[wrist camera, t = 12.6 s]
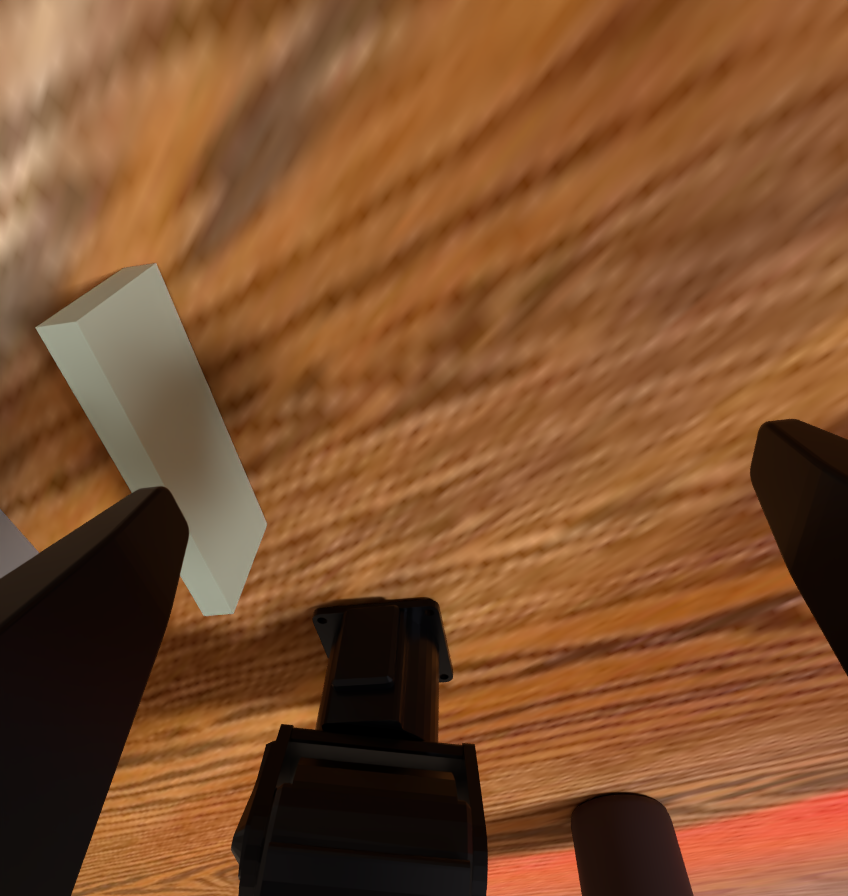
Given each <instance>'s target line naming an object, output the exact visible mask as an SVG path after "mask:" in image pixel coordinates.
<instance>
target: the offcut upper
mask: <svg viewBox="0 0 848 896" xmlns="http://www.w3.org/2000/svg"><path fill="white" fill-rule="evenodd" d="M37 554H39V552H38V551H37V550H36V549H35V548H34V547H33V545H32V544H31V543H30V542H29V541H28V540H27V539H26V538H25V536H24V535H23V534H22V533H21V532H20V531H19V530H18V528H17V527H16V526H15V525H14V524H13V523H12V522H11V521H10V519H9V518H8V517H7V516H6V515H5V514H4V513H3V512H2V510H1V509H0V578H2V577H3V576H5V575H6V574H8V573H9V572H11V571H13V570H14V569H16V568H17V567H19V566H20V565H22V564H23V563H25V562H26V561H28V560H30V559H31V558H33V557H34V556H36V555H37Z"/></svg>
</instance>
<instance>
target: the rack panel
mask: <svg viewBox="0 0 848 896" xmlns="http://www.w3.org/2000/svg"><path fill="white" fill-rule="evenodd" d="M35 328H36V330H37V331H38V333H39V335H40V336H41V338H42V340H43V342H44V343H45V345H46V347H47V348H48V350H49V352H50V354H51V355H52V357H53V359H54V360H55V362H56V364H57V366H58V367H59V369H60V371H61V372H62V374H63V376H64V377H65V379H66V381H67V383H68V384H69V386H70V388H71V389H72V391H73V393H74V395H75V396H76V398H77V400H78V401H79V403H80V405H81V407H82V408H83V410H84V412H85V413H86V415H87V417H88V419H89V420H90V422H91V424H92V425H93V427H94V429H95V430H96V432H97V434H98V436H99V437H100V439H101V441H102V442H103V444H104V446H105V448H106V449H107V451H108V453H109V454H110V456H111V458H112V460H113V461H114V463H115V465H116V466H117V468H118V470H119V471H120V473H121V475H122V477H123V478H124V480H125V482H126V483H127V485H128V487H129V489H130V490H131V492H132V493H133V492H134V491H136V490H138V489H140V488H147V487H156V486H163V487H166V488H168V489H169V490H170V491H171V493H172V495H173V497H174V499H175V500H176V502H177V504H178V506H179V508H180V510H181V512H182V514H183V515H184V517H185V519H186V521H187V523H188V527H189V540H188V544H187V548H186V552H185V556H184V561H183V565H182V569H181V573H180V576H181V577H182V579H183V581H184V583H185V584H186V586H187V588H188V589H189V591H190V593H191V595H192V596H193V598H194V600H195V601H196V603H197V605H198V607H199V608H200V610H201V612H202V613H203V615H204V616H210V615H223V614H234V611H235V608H236V606H237V603H238V600H239V598H240V595H241V592H242V590H243V587H244V584H245V582H246V579H247V577H248V574H249V571H250V569H251V566H252V563H253V561H254V558H255V555H256V553H257V550H258V547H259V545H260V542H261V540H262V537H263V534H264V532H265V529H266V526H267V523H266V520H265V518H264V516H263V513H262V511H261V509H260V506H259V504H258V502H257V499H256V497H255V494H254V492H253V490H252V487H251V485H250V483H249V480H248V478H247V476H246V473H245V471H244V469H243V466H242V464H241V462H240V459H239V457H238V454H237V452H236V450H235V447H234V445H233V443H232V440H231V438H230V436H229V433H228V431H227V429H226V426H225V424H224V422H223V419H222V417H221V415H220V412H219V410H218V407H217V405H216V403H215V400H214V398H213V396H212V393H211V391H210V389H209V386H208V384H207V382H206V379H205V377H204V375H203V372H202V370H201V368H200V365H199V363H198V360H197V358H196V356H195V353H194V351H193V349H192V346H191V344H190V342H189V339H188V337H187V335H186V332H185V330H184V328H183V325H182V323H181V321H180V318H179V316H178V313H177V311H176V309H175V306H174V304H173V302H172V299H171V297H170V295H169V292H168V290H167V288H166V285H165V283H164V281H163V278H162V276H161V274H160V271H159V269H158V266H157V264H156V263H153V264H146V265H140V266H134V267H127V268H123V269H121V270H120V271H118V272H117V273H115V274H114V275H112V276H111V277H109V278H108V279H106V280H105V281H103V282H102V283H100V284H99V285H97V286H96V287H94V288H93V289H91V290H90V291H89V292H87V293H86V294H84V295H83V296H81V297H80V298H78V299H77V300H75V301H74V302H72V303H71V304H69V305H68V306H66V307H65V308H63V309H62V310H60V311H59V312H57V313H56V314H54V315H53V316H52V317H50V318H49V319H47V320H46V321H44V322H43V323H41V324H40V325H38V326H37V327H35Z"/></svg>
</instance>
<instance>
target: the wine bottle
mask: <svg viewBox="0 0 848 896" xmlns="http://www.w3.org/2000/svg"><path fill="white" fill-rule="evenodd" d="M571 830H572V836H573V842H574V848H575V855H576V861H577V867H578V873H579V880H580V886H581V892H582V896H693V892H692V889H691V885H690V882H689V878H688V875H687V872H686V868H685V865H684V861H683V858H682V854H681V851H680V848H679V844H678V841H677V837H676V834H675V830H674V827H673V823H672V820H671V818H670V816H669V814H668V812H667V810H666V808H665V807H664V806H663V805H662V804H661V803H660V802H658V801H656V800H654V799H651V798H648V797H644V796H638V795H629V794H618V795H608V796H603V797H599V798H595V799H593V800H590V801H587V802H585V803H583V804H582V805H580V806H579V807H577V808H576V809H575V810H574V812H573V813H572V817H571Z"/></svg>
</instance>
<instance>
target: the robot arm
mask: <svg viewBox="0 0 848 896" xmlns="http://www.w3.org/2000/svg"><path fill="white" fill-rule="evenodd" d="M750 476H751V482H752V485H753V487H754V490H755V492H756V495H757V497H758V500H759V502H760V504H761V507H762V509H763V512H764V514H765V516H766V519H767V521H768V524H769V526H770V528H771V531H772V533H773V536H774V538H775V540H776V543H777V545H778V548H779V550H780V552H781V555H782V557H783V559H784V562H785V564H786V566H787V568H788V570H789V573H790V575H791V577H792V578H793V580H794V582H795V584H796V586H797V588H798V590H799V591H800V593H801V595H802V597H803V598H804V600H805V602H806V604H807V606H808V607H809V609H810V611H811V613H812V614H813V616H814V618H815V620H816V621H817V623H818V625H819V627H820V628H821V630H822V632H823V634H824V636H825V637H826V639H827V641H828V643H829V644H830V646H831V648H832V650H833V651H834V653H835V655H836V657H837V658H838V660H839V662H840V664H841V666H842V667H843V669H844V671H845V673H846V674H847V676H848V440H847V439H845V438H842V437H840V436H837V435H835V434H832V433H830V432H827V431H825V430H822V429H820V428H817V427H815V426H812V425H810V424H807V423H805V422H802V421H800V420H797V419H785V420H776V421H768V422H765V423H764V424H762V425H761V427H760V429H759V431H758V435H757V440H756V444H755V449H754V453H753V458H752V463H751V468H750ZM188 540H189V527H188V523H187V521H186V519H185V517H184V515H183V514H182V512H181V510H180V508H179V506H178V504H177V502H176V500H175V499H174V497H173V495H172V493H171V491H170V490H169V489H168V488H166V487H163V486H156V487H147V488H140V489H138V490H136V491H134V492H133V493H131V494H130V495H128V496H126V497H125V498H123V499H122V500H120V501H119V502H117V503H116V504H114V505H113V506H111V507H110V508H108V509H106V510H105V511H103V512H102V513H100V514H99V515H97V516H96V517H94V518H93V519H91V520H90V521H88V522H86V523H85V524H83V525H82V526H80V527H79V528H77V529H76V530H74V531H73V532H71V533H70V534H68V535H66V536H65V537H63V538H62V539H60V540H59V541H57V542H56V543H54V544H53V545H51V546H50V547H48V548H46V549H45V550H43V551H42V552H40V553H39V554H37V555H36V556H34V557H33V558H31V559H30V560H28V561H26V562H25V563H23V564H22V565H20V566H19V567H17V568H16V569H14V570H13V571H11V572H9V573H8V574H6V575H5V576H3V577H2V578H0V896H71V894H72V891H73V888H74V886H75V883H76V880H77V877H78V874H79V872H80V869H81V866H82V863H83V860H84V858H85V855H86V852H87V849H88V846H89V844H90V841H91V838H92V835H93V832H94V830H95V827H96V824H97V821H98V818H99V816H100V813H101V810H102V807H103V804H104V802H105V799H106V796H107V793H108V790H109V788H110V785H111V782H112V779H113V776H114V774H115V771H116V768H117V765H118V762H119V760H120V757H121V754H122V751H123V748H124V746H125V743H126V740H127V737H128V734H129V732H130V729H131V726H132V723H133V720H134V718H135V715H136V712H137V709H138V706H139V704H140V701H141V698H142V695H143V692H144V690H145V687H146V684H147V681H148V678H149V676H150V673H151V670H152V667H153V664H154V662H155V659H156V656H157V653H158V650H159V648H160V645H161V642H162V639H163V636H164V633H165V630H166V627H167V624H168V621H169V617H170V614H171V610H172V607H173V602H174V598H175V594H176V590H177V586H178V581H179V577H180V573H181V569H182V565H183V561H184V556H185V552H186V548H187V544H188ZM429 609H430V610H429ZM313 623H314V626H315V628H316V630H317V633H318V635H319V638H320V640H321V642H322V645H323V647H324V649H325V652H326V654H327V657H328V659H329V661H328V666H327V671H326V677H325V682H324V687H323V692H322V697H321V702H320V708H319V713H318V718H317V723H316V728H315V730H312V729H303V728H294V726H293V725H286V724H281V726H280V730H279V733H278V736H277V739H276V741H272V742H271V743H268V744H266V747H265V751H264V755H263V759H262V763H261V766H260V770H259V774H258V777H257V780H256V783H255V786H254V789H253V791H252V794H251V796H250V798H249V801H248V803H247V805H246V808H245V810H244V812H243V815H242V817H241V819H240V822H239V824H238V826H237V829H236V831H235V834H234V837H233V841H232V846H231V851H232V853H233V855H234V856H235V858H236V860H237V862H238V864H239V875H238V877H239V880H240V884H239V896H486V890H487V872H488V850H487V834H486V825H485V817H484V810H483V802H482V795H481V787H480V780H479V772H478V765H477V757H476V750H475V744H468V743H462V745H457V744H447V743H438V714H439V682H449V681H451V680H452V679H453V668H452V663H451V659H450V654H449V649H448V645H447V640H446V635H445V631H444V626H443V621H442V617H441V612H440V607H439V604H438V603H437V602H436V601H433V600H418V601H405V602H392V603H379V604H366V605H353V606H340V607H327V608H319V609H316V610H315V612H314V615H313Z"/></svg>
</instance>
